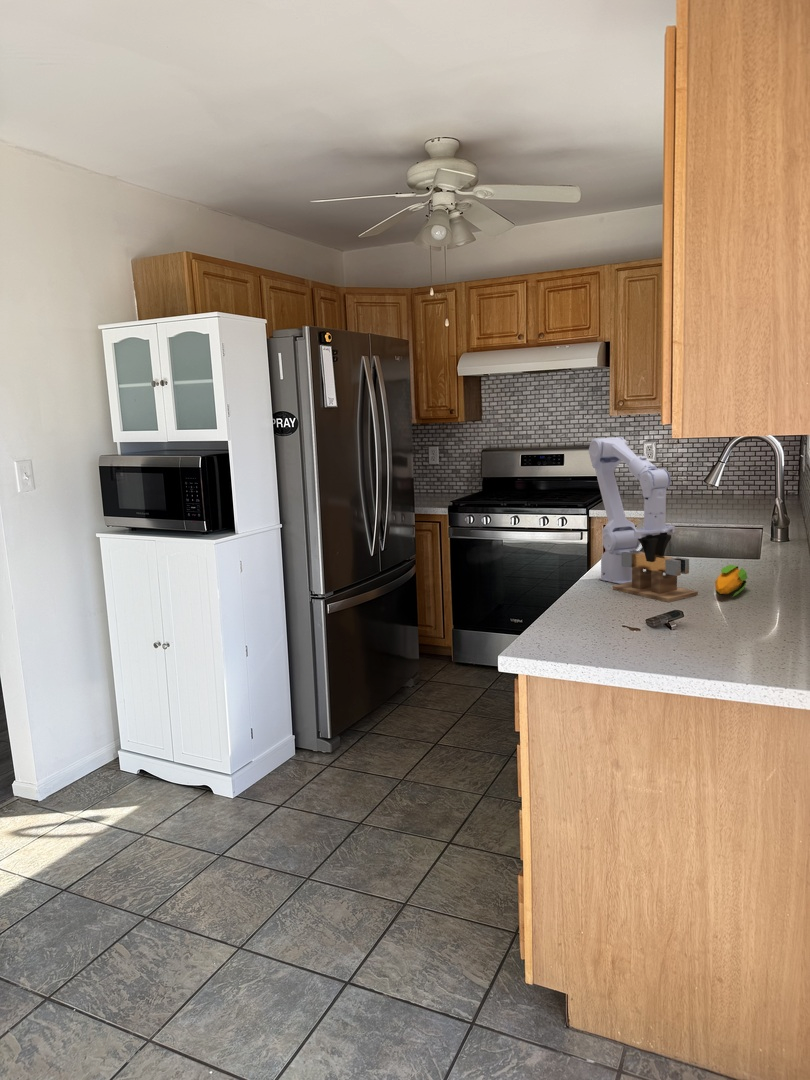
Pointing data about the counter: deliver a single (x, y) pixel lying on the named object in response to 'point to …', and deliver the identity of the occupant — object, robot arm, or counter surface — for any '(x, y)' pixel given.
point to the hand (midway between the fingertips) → (654, 560)
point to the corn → (731, 580)
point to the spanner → (656, 563)
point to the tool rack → (654, 586)
